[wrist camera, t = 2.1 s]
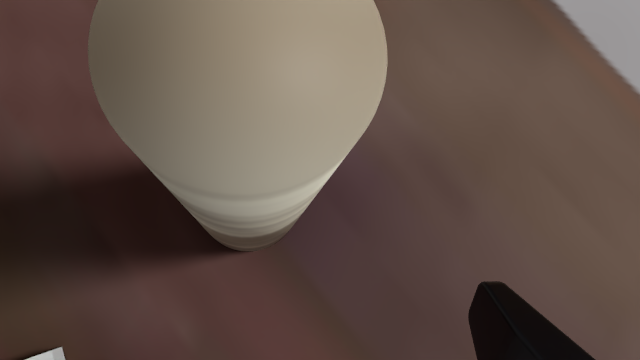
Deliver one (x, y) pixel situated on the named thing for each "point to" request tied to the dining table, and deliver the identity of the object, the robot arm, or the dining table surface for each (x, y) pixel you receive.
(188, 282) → the dining table surface
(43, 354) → the socket block
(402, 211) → the dining table surface
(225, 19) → the peg
